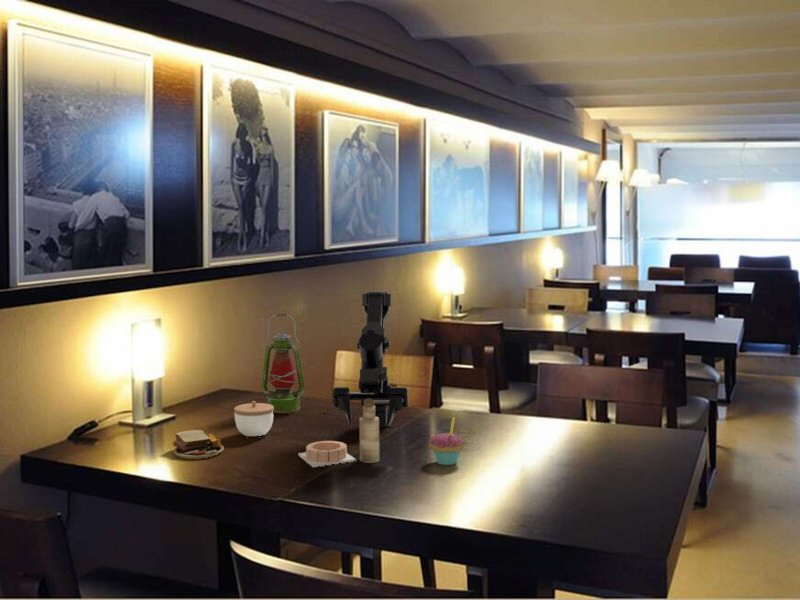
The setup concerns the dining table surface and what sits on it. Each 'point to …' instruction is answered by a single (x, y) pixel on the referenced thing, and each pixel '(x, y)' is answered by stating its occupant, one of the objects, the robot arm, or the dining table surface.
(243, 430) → the lidded jar
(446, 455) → the cupcake
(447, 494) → the dining table surface
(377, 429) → the pepper mill
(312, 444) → the ring
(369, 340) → the robot arm
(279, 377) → the lantern
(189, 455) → the toy sandwich meal
